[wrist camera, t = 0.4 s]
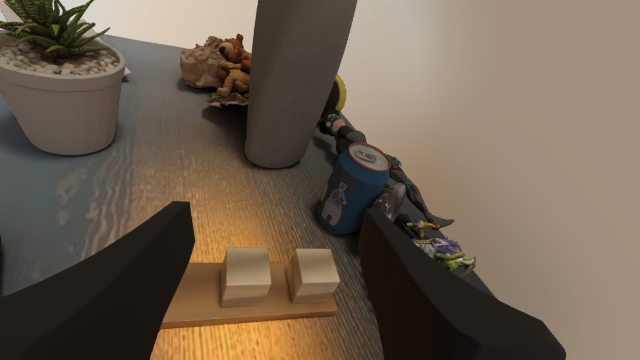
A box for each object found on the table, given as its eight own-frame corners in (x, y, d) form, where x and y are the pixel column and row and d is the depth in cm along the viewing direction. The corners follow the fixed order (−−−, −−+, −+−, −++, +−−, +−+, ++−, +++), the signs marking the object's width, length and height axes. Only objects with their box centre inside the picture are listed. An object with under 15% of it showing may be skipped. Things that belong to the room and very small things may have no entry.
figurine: (452, 217, 40) (325, 91, 53) (408, 257, 44) (300, 130, 57) (471, 210, 48) (358, 103, 62) (432, 244, 52) (334, 136, 66)
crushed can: (414, 185, 46) (395, 178, 47) (396, 199, 34) (371, 189, 35) (394, 235, 48) (376, 227, 49) (371, 264, 36) (349, 253, 37)
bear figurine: (189, 113, 52) (166, 37, 48) (240, 101, 65) (226, 40, 60) (253, 105, 47) (234, 19, 42) (295, 94, 59) (284, 27, 55)
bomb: (345, 80, 57) (367, 87, 70) (300, 54, 59) (329, 65, 73) (320, 131, 61) (344, 128, 74) (279, 105, 64) (310, 106, 77)
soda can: (358, 212, 47) (393, 151, 40) (357, 244, 41) (397, 180, 34) (317, 197, 46) (346, 133, 39) (310, 228, 41) (342, 160, 34)
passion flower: (377, 283, 44) (431, 224, 43) (434, 349, 37) (501, 278, 36) (339, 268, 36) (405, 194, 35) (403, 349, 28) (489, 257, 28)
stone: (269, 89, 68) (228, 78, 76) (267, 40, 63) (223, 34, 71) (198, 105, 56) (158, 90, 64) (188, 46, 51) (146, 38, 58)
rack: (334, 315, 32) (352, 290, 29) (118, 332, 25) (113, 301, 22) (321, 267, 37) (336, 241, 34) (135, 269, 29) (132, 236, 26)
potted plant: (146, 122, 47) (143, -22, 35) (105, 176, 36) (81, -4, 25) (53, 100, 44) (16, -66, 32) (-22, 153, 33) (-119, -67, 22)
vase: (315, 157, 55) (388, -30, 38) (282, 188, 45) (361, -45, 28) (260, 126, 57) (305, -65, 39) (217, 151, 47) (252, -91, 30)
